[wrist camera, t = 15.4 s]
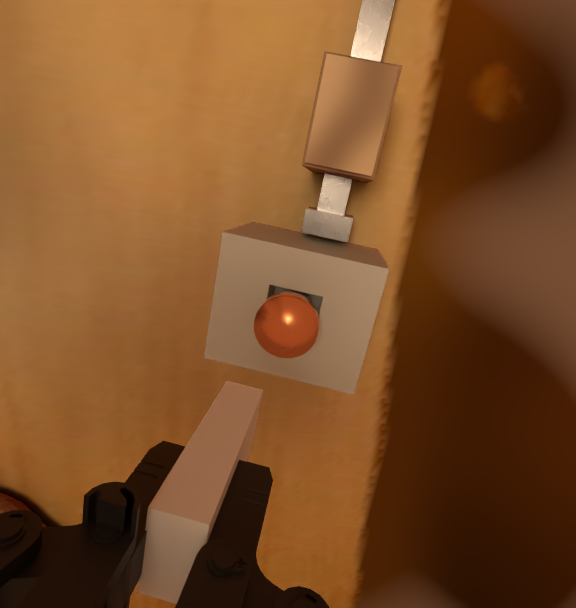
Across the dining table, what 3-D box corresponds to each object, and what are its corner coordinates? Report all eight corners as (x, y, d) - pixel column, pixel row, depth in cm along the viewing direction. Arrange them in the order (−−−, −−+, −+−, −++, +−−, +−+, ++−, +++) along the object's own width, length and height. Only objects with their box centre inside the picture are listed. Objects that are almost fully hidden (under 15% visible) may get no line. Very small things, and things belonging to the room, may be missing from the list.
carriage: (311, 171, 36) (301, 164, 27) (329, 85, 34) (324, 49, 25) (366, 182, 36) (373, 179, 27) (387, 97, 34) (403, 64, 25)
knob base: (236, 319, 41) (203, 357, 31) (253, 222, 38) (222, 231, 29) (351, 346, 40) (353, 395, 31) (377, 249, 37) (389, 269, 28)
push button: (265, 321, 34) (248, 349, 28) (275, 271, 33) (259, 289, 27) (316, 333, 34) (310, 365, 27) (328, 283, 32) (324, 304, 26)
